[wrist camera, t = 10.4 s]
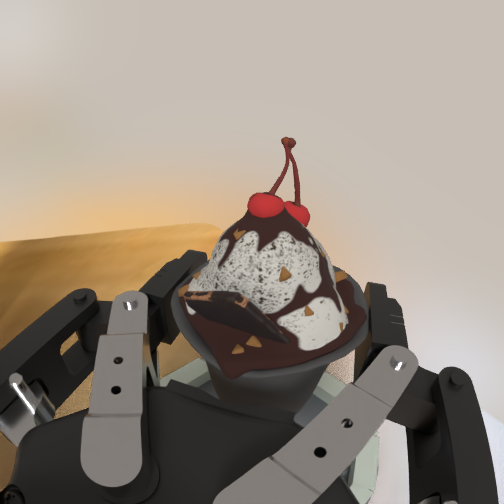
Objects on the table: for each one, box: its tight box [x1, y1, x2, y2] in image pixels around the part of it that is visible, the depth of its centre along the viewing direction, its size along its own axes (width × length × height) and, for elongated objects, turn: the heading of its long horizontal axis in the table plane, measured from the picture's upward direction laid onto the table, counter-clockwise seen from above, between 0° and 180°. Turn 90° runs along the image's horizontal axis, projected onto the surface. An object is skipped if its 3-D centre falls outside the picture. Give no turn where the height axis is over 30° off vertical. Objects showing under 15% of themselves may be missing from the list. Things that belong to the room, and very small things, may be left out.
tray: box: [160, 358, 379, 504], centre depth 16 cm, size 17×17×2 cm
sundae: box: [171, 137, 369, 422], centre depth 11 cm, size 7×7×15 cm
